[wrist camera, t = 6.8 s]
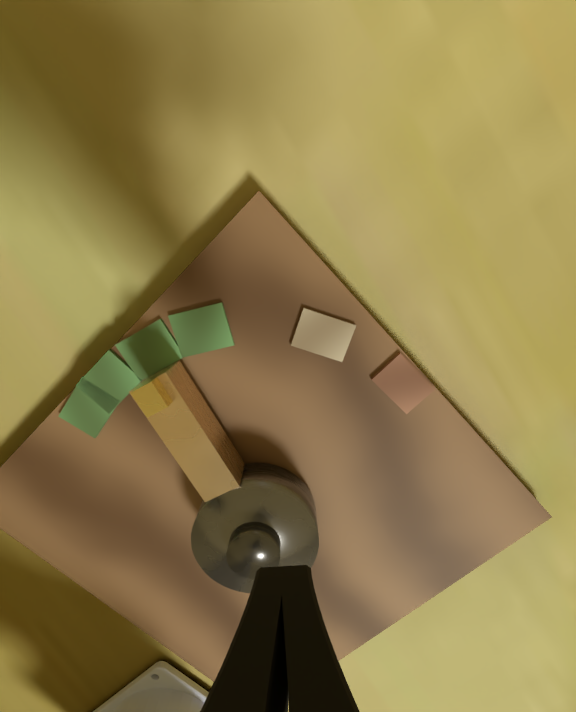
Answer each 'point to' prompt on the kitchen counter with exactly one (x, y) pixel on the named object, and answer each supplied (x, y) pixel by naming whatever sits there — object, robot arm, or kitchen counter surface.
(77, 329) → the kitchen counter surface
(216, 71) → the kitchen counter surface
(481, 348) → the kitchen counter surface
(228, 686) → the robot arm
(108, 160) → the kitchen counter surface
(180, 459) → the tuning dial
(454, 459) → the brown flat square slab
